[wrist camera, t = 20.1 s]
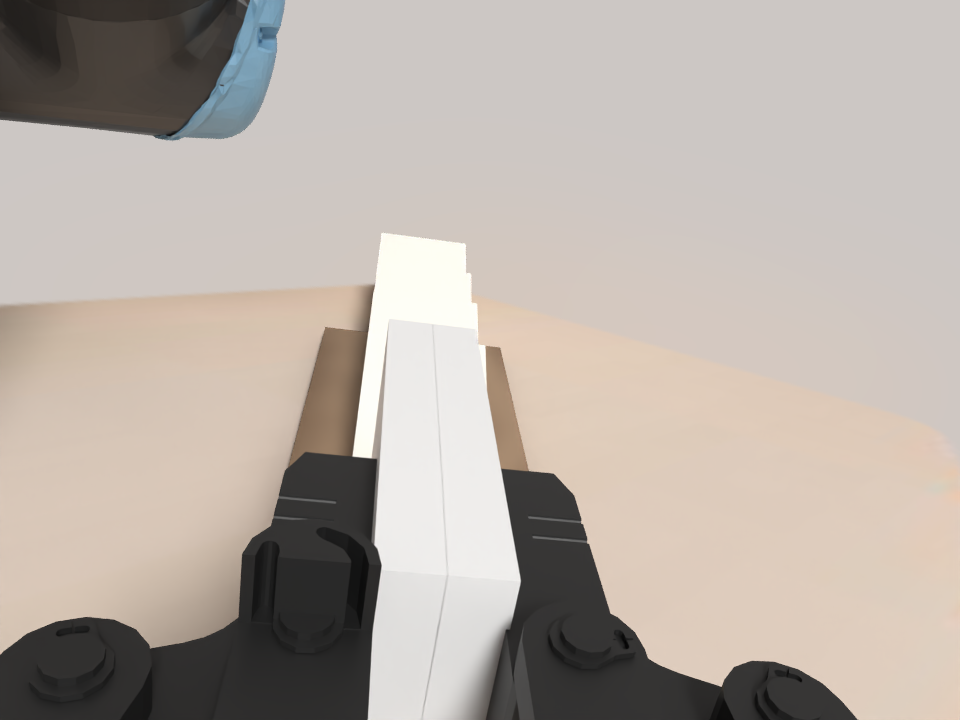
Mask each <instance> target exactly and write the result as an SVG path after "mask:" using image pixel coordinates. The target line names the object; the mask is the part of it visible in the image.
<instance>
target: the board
mask: <svg viewBox="0 0 960 720" xmlns="http://www.w3.org/2000/svg"><path fill="white" fill-rule="evenodd" d="M367 339H368V332H361V331H353V330H344V329H336V328H327V327H325V331H324V335H323V338H322V342H321V346H320V350H319V353H318V357H317V361H316V365H315V368H314V372H313V376H312V380H311V384H310V387H309V391H308V395H307V399H306V402H305V406H304V410H303V414H302V417H301V421H300V425H299V429H298V433H297V436H296V440H295V444H294V448H293V451H292V455H291V459H290V463H289V466H288V467H290V466H291V465H292V464H293V463H294V462H295V461H296V460H297V459H298V458H299V457H300V456H301V455H302V454H304V453H305V452H312V453H322V454H332V455H342V456H353V449H354V441H355V433H356V426H357V418H358V410H359V402H360V394H361V386H362V378H363V370H364V362H365V355H366V347H367ZM485 350H486V381H487V394H488V399H489V405H490V411H491V416H492V422H493V428H494V433H495V439H496V444H497V450H498V456H499V461H500V467H501V469H511V470H521V471H529V470H528V466H527V462H526V457H525V453H524V449H523V444H522V440H521V436H520V432H519V427H518V423H517V419H516V414H515V410H514V406H513V401H512V397H511V393H510V389H509V384H508V380H507V376H506V371H505V367H504V363H503V358H502V354H501V350H500V348H498V347H490V346H485Z"/></svg>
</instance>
